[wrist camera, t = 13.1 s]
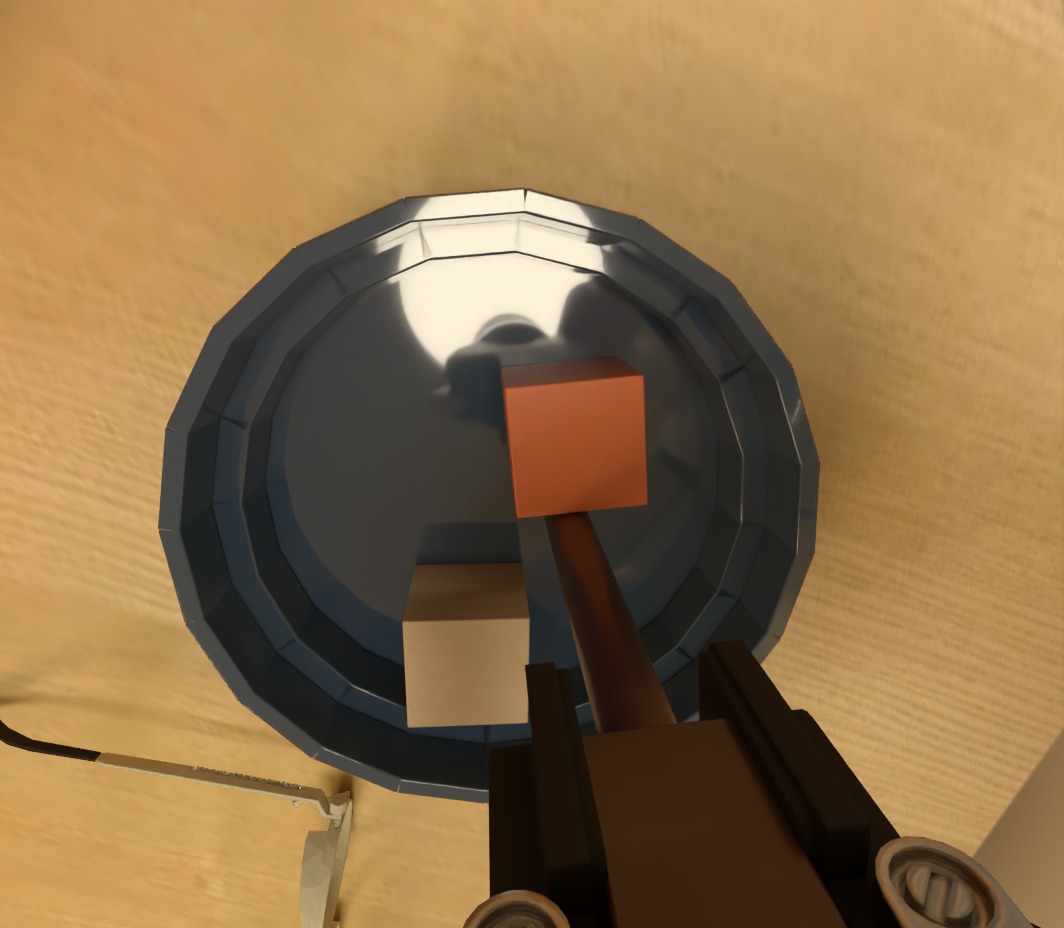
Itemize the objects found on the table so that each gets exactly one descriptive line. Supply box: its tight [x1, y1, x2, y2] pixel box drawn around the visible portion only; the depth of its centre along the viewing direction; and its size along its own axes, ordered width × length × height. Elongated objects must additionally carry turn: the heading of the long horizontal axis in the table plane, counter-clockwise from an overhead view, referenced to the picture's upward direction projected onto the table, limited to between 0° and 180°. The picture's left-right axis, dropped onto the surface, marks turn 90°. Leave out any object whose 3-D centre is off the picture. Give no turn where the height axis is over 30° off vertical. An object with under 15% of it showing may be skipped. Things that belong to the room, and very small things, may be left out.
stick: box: [544, 511, 848, 928], centre depth 14 cm, size 2×2×16 cm
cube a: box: [501, 357, 648, 518], centre depth 20 cm, size 4×4×4 cm
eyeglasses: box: [0, 720, 352, 928], centre depth 25 cm, size 17×15×5 cm
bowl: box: [158, 188, 820, 803], centre depth 21 cm, size 19×19×5 cm
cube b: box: [402, 563, 530, 728], centre depth 22 cm, size 4×4×4 cm
